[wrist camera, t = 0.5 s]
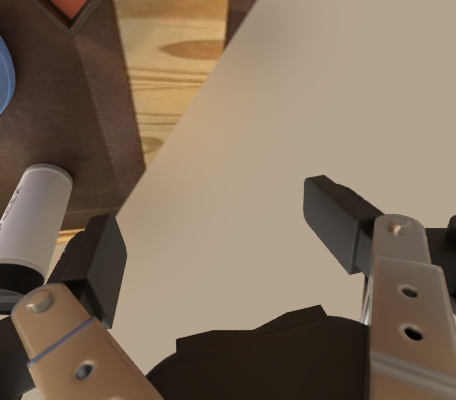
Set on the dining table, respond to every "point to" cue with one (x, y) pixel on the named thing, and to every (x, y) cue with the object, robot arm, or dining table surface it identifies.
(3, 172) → the dining table surface
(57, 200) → the travel mug
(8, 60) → the water jug
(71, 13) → the sorting tray
